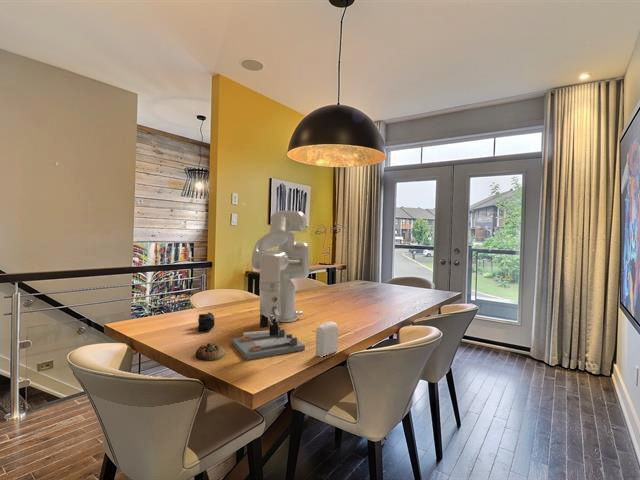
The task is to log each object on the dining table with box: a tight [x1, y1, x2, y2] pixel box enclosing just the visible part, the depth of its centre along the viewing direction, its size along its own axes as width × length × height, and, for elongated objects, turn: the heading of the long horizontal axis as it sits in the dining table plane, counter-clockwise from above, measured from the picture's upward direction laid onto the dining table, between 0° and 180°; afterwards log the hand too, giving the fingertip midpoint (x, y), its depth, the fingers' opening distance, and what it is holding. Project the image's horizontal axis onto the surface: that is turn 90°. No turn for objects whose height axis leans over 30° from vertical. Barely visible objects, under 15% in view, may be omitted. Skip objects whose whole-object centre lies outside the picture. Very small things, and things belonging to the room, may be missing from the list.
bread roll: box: [195, 342, 226, 361], centre depth 126 cm, size 11×11×5 cm
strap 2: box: [253, 336, 293, 346], centre depth 132 cm, size 17×3×2 cm, turn 120°
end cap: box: [197, 312, 215, 333], centre depth 159 cm, size 10×7×7 cm
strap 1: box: [242, 328, 281, 337], centre depth 143 cm, size 17×3×2 cm, turn 120°
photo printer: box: [315, 321, 339, 358], centre depth 132 cm, size 10×4×12 cm, turn 140°
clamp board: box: [231, 325, 306, 361], centre depth 137 cm, size 24×20×5 cm
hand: (268, 331), depth 126 cm, fingers open, 9 cm apart
